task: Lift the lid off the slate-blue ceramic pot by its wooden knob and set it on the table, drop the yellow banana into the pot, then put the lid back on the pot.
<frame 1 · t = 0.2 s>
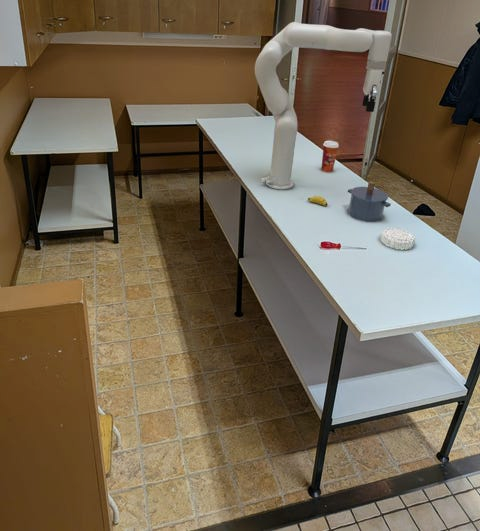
hand: (367, 108, 207), 37 cm above the table, tool pointing down, fingers open, 9 cm apart
banana: (318, 203, 211), on the table
lid: (369, 195, 201), point 8 cm above the table, touching pot
mooncake: (396, 242, 185), on the table
pot: (365, 214, 205), on the table
paper cup: (327, 170, 248), on the table
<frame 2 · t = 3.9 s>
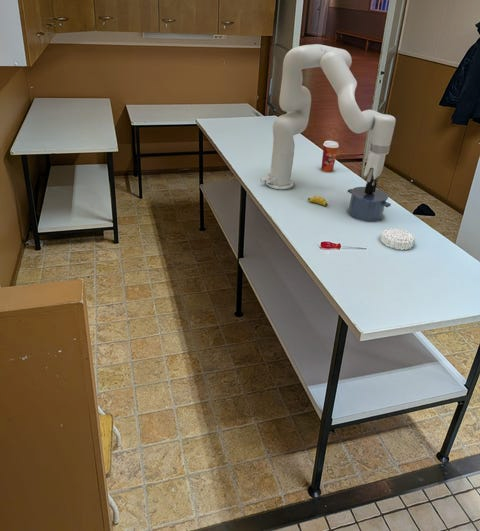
hand: (369, 192, 200), 10 cm above the table, tool pointing down, fingers closed on lid, 2 cm apart
lid: (369, 195, 201), point 9 cm above the table, touching gripper, pot
everything else where it was.
when the fingers open (2 cm above the table, at t = 11.2 s): lid stays where it is, point 1 cm above the table.
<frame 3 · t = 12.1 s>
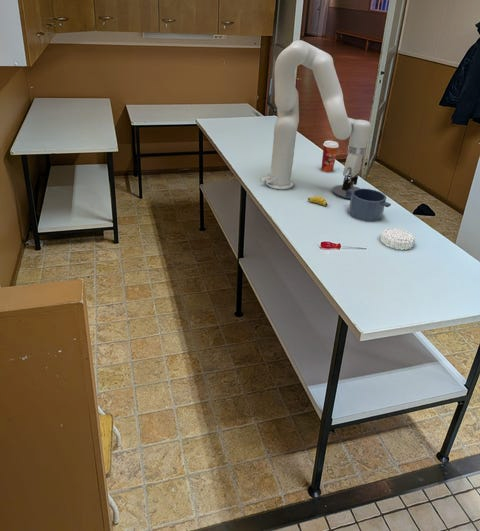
hand: (349, 187, 222), 3 cm above the table, tool pointing down, fingers open, 9 cm apart
lid: (349, 192, 223), point 1 cm above the table
everything else where it was.
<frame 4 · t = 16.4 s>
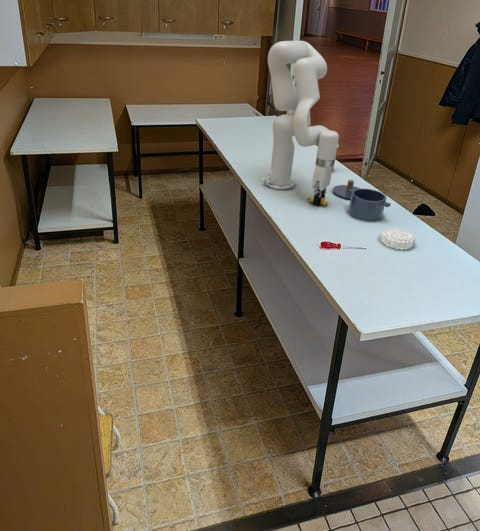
hand: (318, 203, 211), 0 cm above the table, tool pointing down, fingers closed on banana, 3 cm apart
banana: (318, 203, 211), on the table, touching gripper
everything else where it was.
when the fingers open (6 cm above the table, at t = 22.7 s): banana drops 5 cm, resting on pot.
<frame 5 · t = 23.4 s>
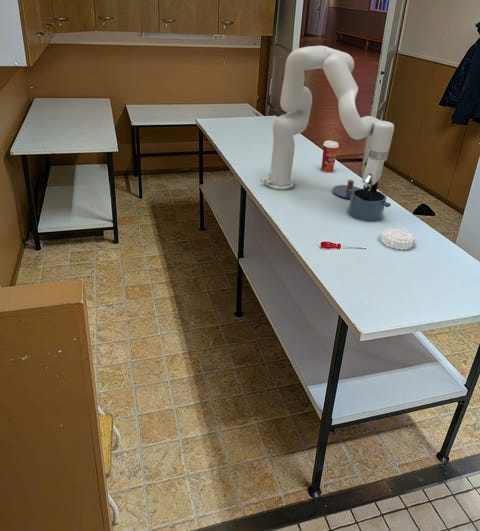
hand: (368, 195, 201), 8 cm above the table, tool pointing down, fingers open, 9 cm apart
banana: (365, 212, 205), resting on pot
everything else where it was.
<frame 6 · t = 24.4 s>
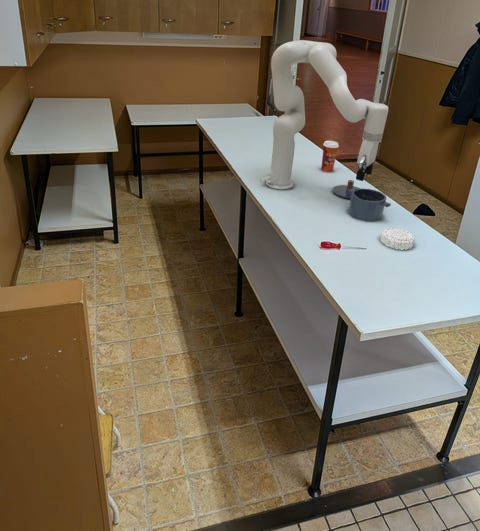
hand: (363, 176, 206), 13 cm above the table, tool pointing down, fingers open, 9 cm apart
nothing on the table moved.
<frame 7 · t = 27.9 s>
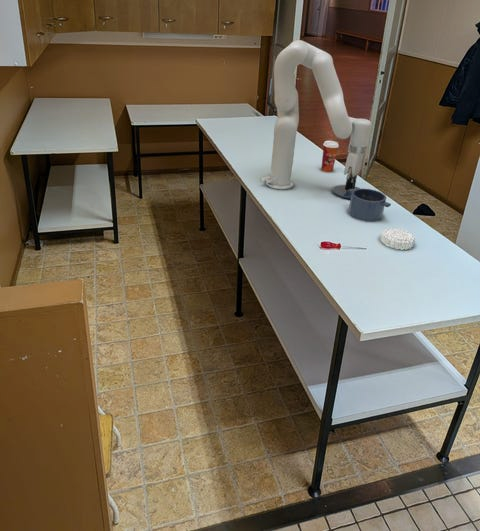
hand: (349, 188, 222), 2 cm above the table, tool pointing down, fingers closed on lid, 2 cm apart
lid: (349, 192, 223), point 1 cm above the table, touching gripper
everything else where it was.
when the fingers open (10 cm above the table, at t = 34.4 s): lid stays where it is, resting on pot.
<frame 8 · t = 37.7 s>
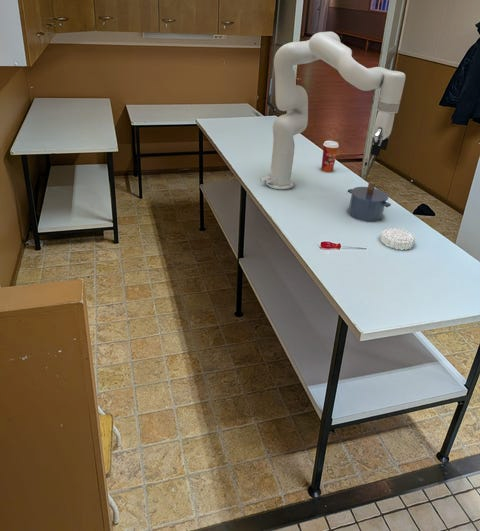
hand: (378, 152, 192), 26 cm above the table, tool pointing down, fingers open, 9 cm apart
lid: (369, 195, 201), point 8 cm above the table, touching pot
everything else where it was.
at the end: banana inside the target area in the pot (0.4 cm from its centre), point 0.5 cm above the pot's base; lid 0.1 cm off-centre on the pot, point 8.5 cm above the pot's base; lid tilted 0° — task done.
